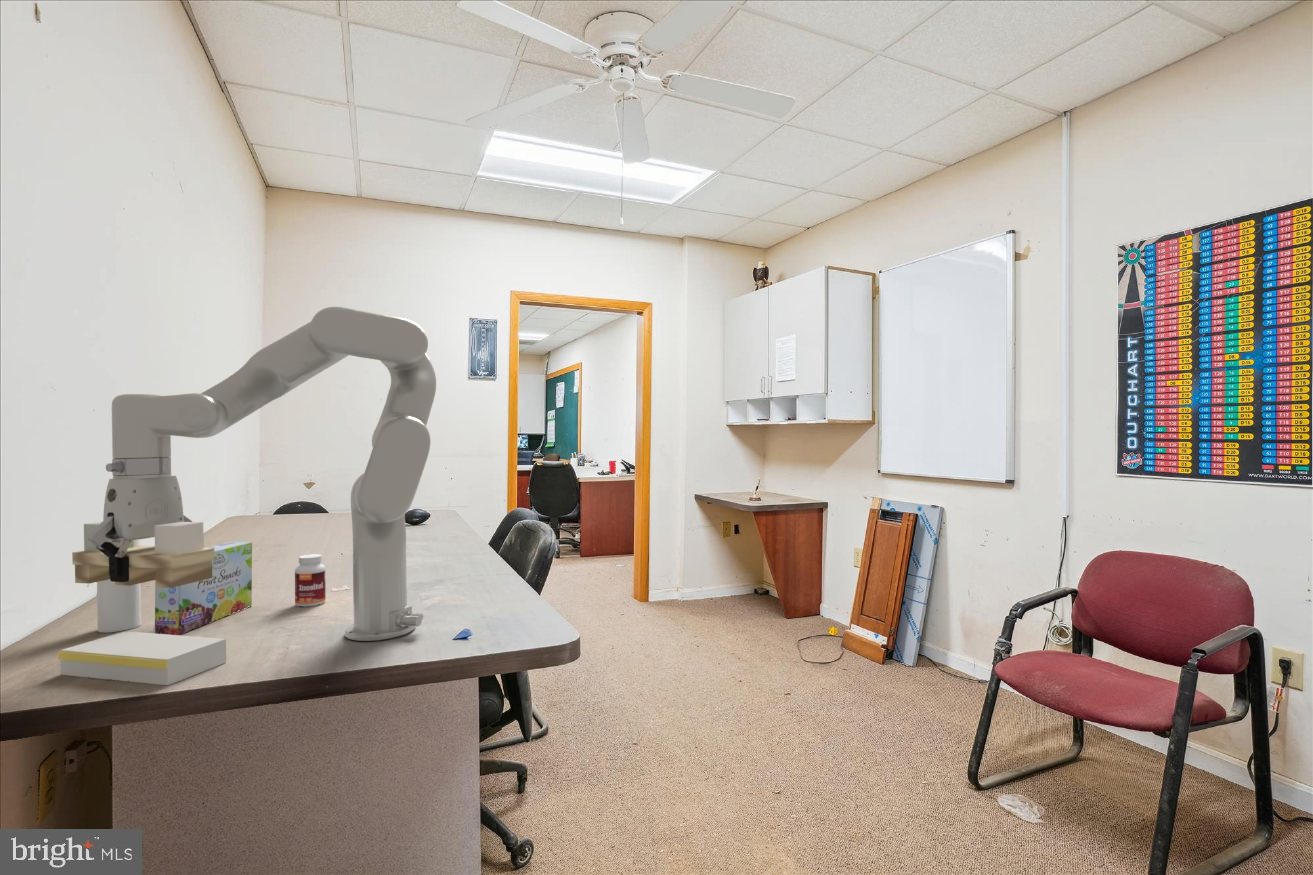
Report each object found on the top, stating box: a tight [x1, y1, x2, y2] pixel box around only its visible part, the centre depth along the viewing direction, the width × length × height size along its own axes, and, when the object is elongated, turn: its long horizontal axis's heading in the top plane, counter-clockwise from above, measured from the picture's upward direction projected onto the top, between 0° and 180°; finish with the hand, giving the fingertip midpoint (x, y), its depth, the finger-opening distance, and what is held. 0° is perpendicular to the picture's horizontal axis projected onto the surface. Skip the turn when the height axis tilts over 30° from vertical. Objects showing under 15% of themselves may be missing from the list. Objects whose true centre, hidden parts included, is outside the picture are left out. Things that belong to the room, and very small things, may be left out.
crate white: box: [154, 521, 205, 554], centre depth 102 cm, size 4×4×4 cm
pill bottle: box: [294, 553, 327, 608], centre depth 144 cm, size 6×6×11 cm
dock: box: [57, 630, 227, 686], centre depth 104 cm, size 22×10×4 cm, turn 76°
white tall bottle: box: [96, 539, 142, 634], centre depth 128 cm, size 7×7×25 cm
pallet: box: [71, 545, 215, 588], centre depth 104 cm, size 21×7×5 cm, turn 76°
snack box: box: [154, 541, 253, 636], centre depth 132 cm, size 21×6×15 cm, turn 179°
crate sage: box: [83, 521, 134, 552], centre depth 106 cm, size 4×4×4 cm
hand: (144, 575), depth 104 cm, fingers closed on pallet, 7 cm apart
